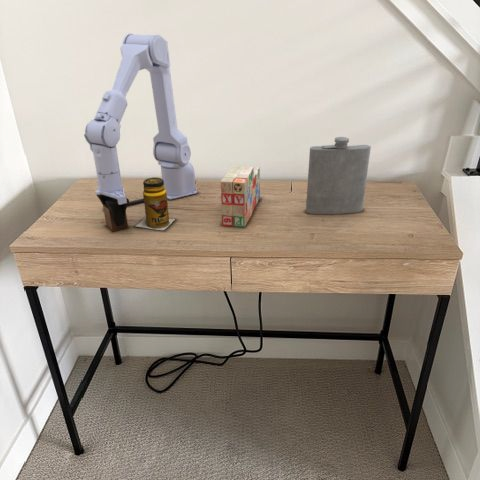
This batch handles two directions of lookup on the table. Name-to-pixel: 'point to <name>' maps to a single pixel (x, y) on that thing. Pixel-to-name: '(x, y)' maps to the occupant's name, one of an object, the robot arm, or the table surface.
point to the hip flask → (337, 178)
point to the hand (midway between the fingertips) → (116, 221)
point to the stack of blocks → (239, 195)
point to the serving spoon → (136, 201)
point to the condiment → (155, 205)
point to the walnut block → (112, 220)
